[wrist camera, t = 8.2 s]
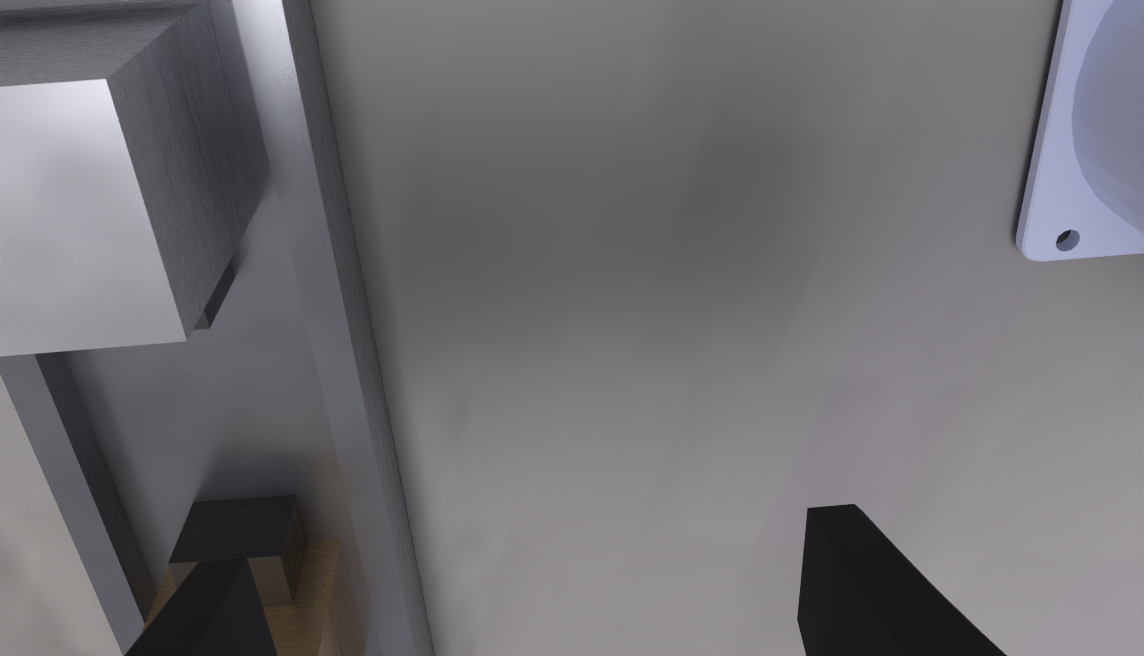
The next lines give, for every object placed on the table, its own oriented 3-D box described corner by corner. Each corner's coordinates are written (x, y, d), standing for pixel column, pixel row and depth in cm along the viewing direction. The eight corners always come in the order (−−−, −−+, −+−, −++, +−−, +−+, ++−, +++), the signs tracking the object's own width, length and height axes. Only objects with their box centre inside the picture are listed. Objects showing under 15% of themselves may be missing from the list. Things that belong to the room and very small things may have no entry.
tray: (293, -82, 17) (268, -62, 15) (436, 667, 28) (431, 733, 26) (-102, -54, 17) (-176, -31, 15) (190, 689, 27) (168, 759, 25)
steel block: (206, -4, 17) (106, 79, 12) (274, 275, 20) (212, 421, 15) (-27, 13, 17) (-210, 102, 12) (75, 290, 19) (-44, 442, 15)
